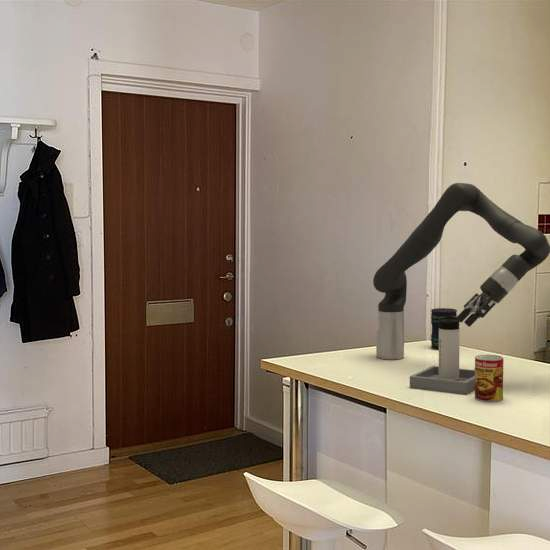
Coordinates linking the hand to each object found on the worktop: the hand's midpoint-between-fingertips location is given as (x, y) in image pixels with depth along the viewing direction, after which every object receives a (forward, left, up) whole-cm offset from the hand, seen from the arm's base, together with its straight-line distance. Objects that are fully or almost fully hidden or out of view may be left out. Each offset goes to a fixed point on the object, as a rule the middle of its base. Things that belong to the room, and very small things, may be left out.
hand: (462, 322), depth 244 cm
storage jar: (-27, +55, -20) cm, 64 cm away
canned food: (+13, -12, -20) cm, 26 cm away
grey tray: (-3, -2, -19) cm, 20 cm away
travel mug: (-3, -2, -19) cm, 19 cm away
